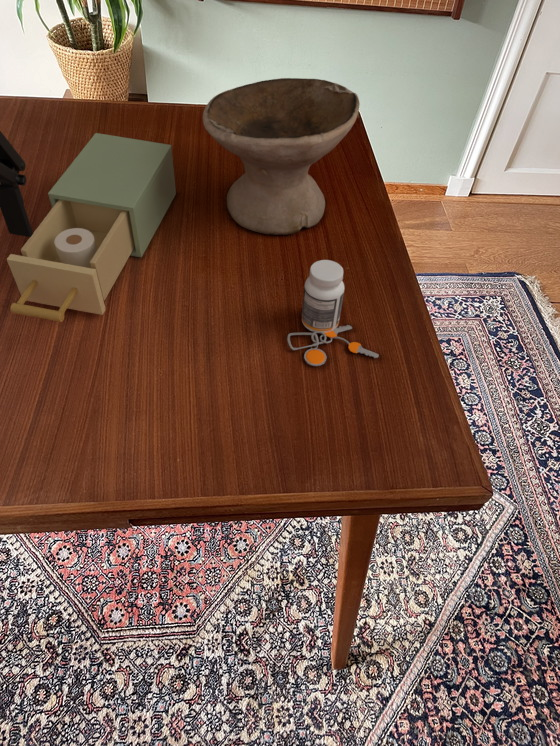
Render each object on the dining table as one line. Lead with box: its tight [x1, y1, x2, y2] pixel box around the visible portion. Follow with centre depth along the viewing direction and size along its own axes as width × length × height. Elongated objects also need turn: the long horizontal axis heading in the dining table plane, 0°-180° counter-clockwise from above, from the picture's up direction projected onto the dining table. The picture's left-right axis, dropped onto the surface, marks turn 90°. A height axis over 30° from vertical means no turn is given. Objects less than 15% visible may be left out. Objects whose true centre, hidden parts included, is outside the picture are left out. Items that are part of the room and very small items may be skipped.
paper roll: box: [54, 228, 97, 268], centre depth 86 cm, size 6×6×6 cm
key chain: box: [287, 324, 380, 367], centre depth 84 cm, size 13×7×1 cm, turn 99°
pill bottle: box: [301, 259, 346, 333], centre depth 83 cm, size 6×6×10 cm
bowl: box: [202, 77, 361, 236], centre depth 97 cm, size 26×25×20 cm
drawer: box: [6, 199, 135, 323], centre depth 85 cm, size 24×12×8 cm, turn 169°
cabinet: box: [47, 132, 177, 258], centre depth 97 cm, size 19×14×10 cm
